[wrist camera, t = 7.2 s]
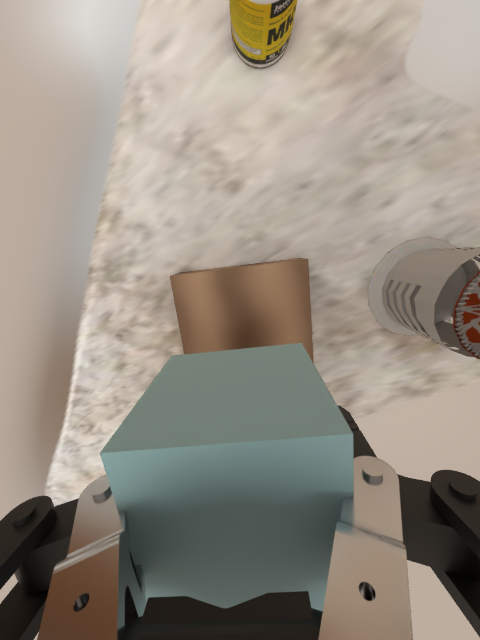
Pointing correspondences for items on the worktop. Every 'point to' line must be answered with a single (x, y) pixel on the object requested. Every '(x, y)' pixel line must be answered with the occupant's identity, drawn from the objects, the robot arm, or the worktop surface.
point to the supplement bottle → (261, 29)
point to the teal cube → (233, 476)
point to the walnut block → (244, 306)
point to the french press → (429, 293)
